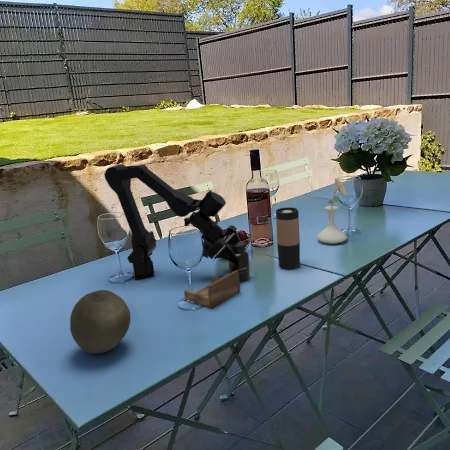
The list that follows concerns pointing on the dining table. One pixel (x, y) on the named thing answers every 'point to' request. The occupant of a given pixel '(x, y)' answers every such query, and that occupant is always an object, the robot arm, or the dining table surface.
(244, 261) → the supplement bottle
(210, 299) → the holder
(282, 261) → the travel mug
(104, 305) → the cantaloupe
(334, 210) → the flower in vase
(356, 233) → the dining table surface
